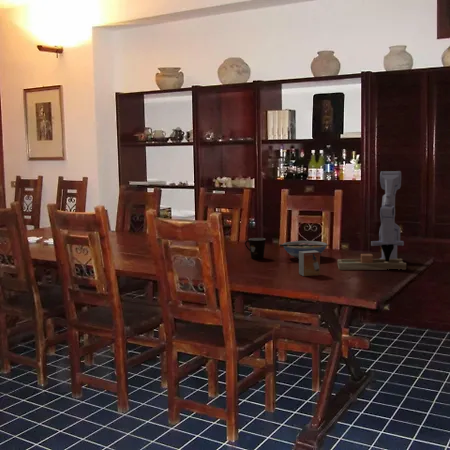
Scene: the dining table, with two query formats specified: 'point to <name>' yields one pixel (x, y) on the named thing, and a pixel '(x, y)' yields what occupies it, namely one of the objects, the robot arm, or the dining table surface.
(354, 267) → the trap lane
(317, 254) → the small box
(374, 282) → the dining table surface
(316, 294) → the dining table surface
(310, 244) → the ramen bowl
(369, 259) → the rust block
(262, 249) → the coffee mug
